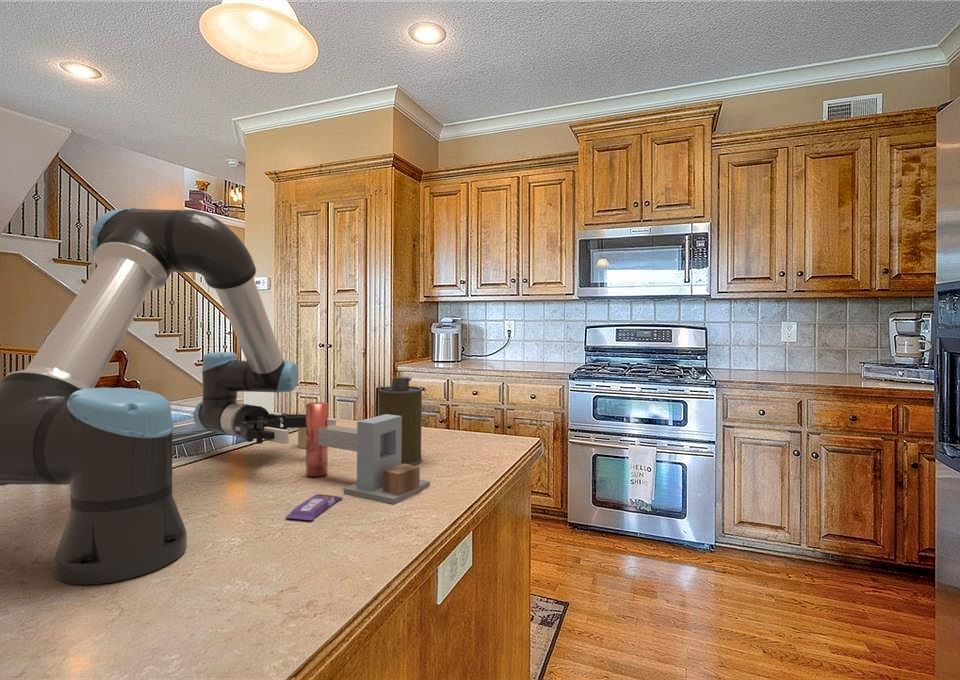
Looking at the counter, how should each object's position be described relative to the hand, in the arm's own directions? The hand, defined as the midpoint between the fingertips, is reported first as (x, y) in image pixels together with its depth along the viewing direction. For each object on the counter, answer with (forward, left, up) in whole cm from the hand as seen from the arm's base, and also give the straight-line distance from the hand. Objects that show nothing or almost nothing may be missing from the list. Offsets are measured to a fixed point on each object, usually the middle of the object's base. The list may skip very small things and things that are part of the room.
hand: (312, 431), depth 112 cm
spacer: (+7, -22, -6) cm, 23 cm away
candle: (+10, +23, -9) cm, 27 cm away
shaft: (+3, -9, -9) cm, 13 cm away
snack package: (-9, -20, -10) cm, 24 cm away
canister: (+20, -4, -9) cm, 22 cm away
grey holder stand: (+7, -20, -9) cm, 23 cm away
